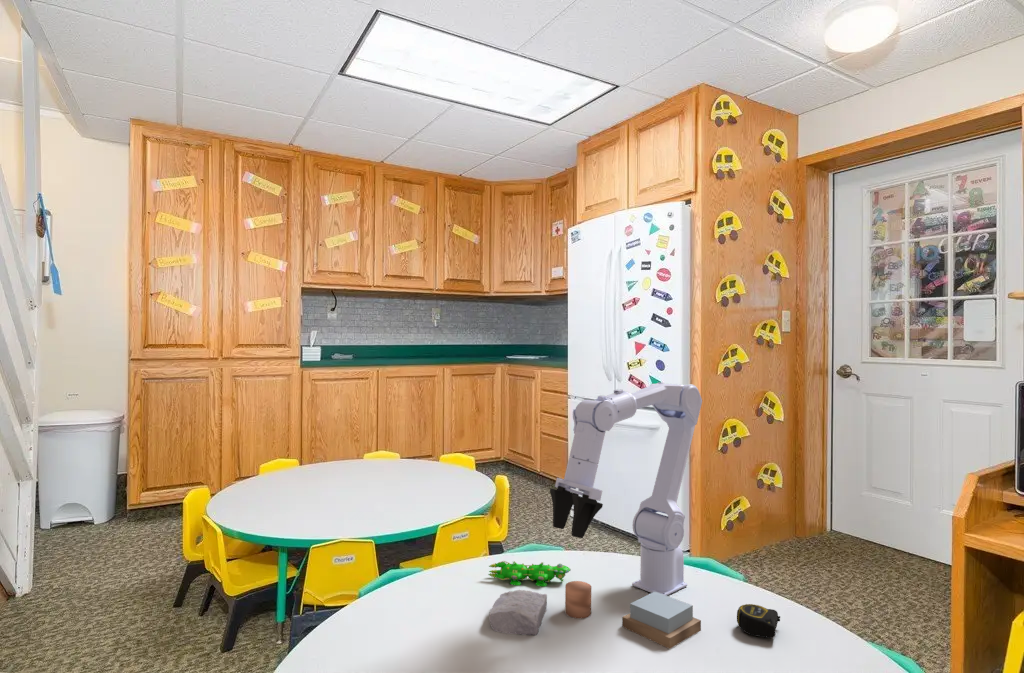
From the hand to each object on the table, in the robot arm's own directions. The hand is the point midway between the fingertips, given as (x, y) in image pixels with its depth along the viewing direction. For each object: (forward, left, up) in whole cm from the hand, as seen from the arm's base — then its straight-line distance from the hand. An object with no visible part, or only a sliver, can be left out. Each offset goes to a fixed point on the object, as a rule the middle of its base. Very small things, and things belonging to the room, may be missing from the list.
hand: (567, 532), depth 105 cm
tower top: (-11, +13, -14) cm, 23 cm away
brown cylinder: (-4, -1, -16) cm, 17 cm away
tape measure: (-24, +26, -17) cm, 39 cm away
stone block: (+7, -6, -17) cm, 19 cm away
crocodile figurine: (-7, -18, -17) cm, 25 cm away
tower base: (-11, +13, -17) cm, 24 cm away
